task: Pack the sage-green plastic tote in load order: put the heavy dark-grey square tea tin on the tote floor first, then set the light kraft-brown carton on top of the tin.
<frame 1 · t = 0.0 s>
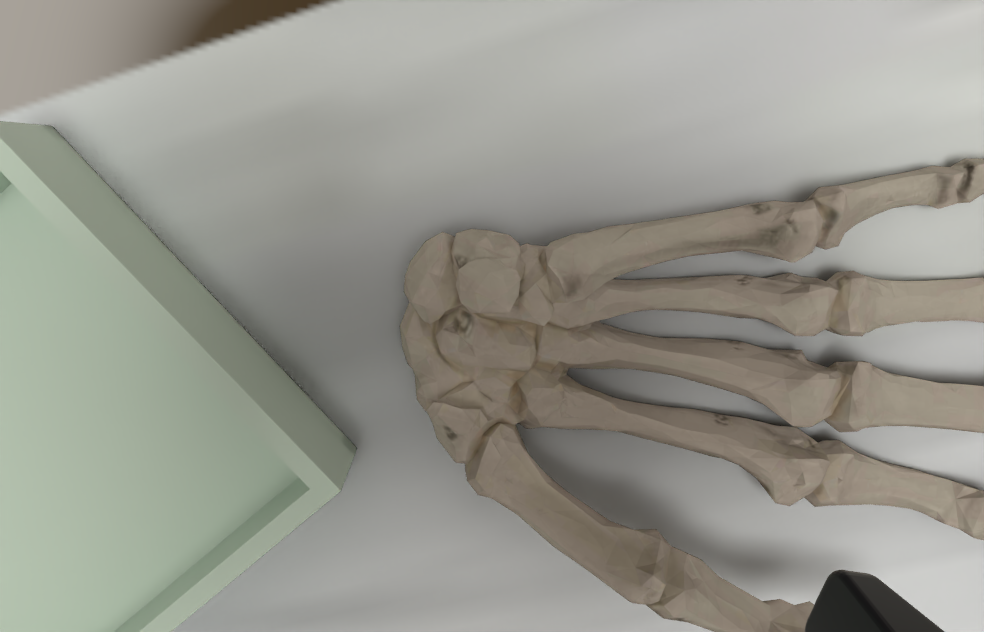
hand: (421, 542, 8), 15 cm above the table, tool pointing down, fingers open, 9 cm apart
skeleton model: (789, 375, 25), on the table
tote: (4, 478, 24), on the table
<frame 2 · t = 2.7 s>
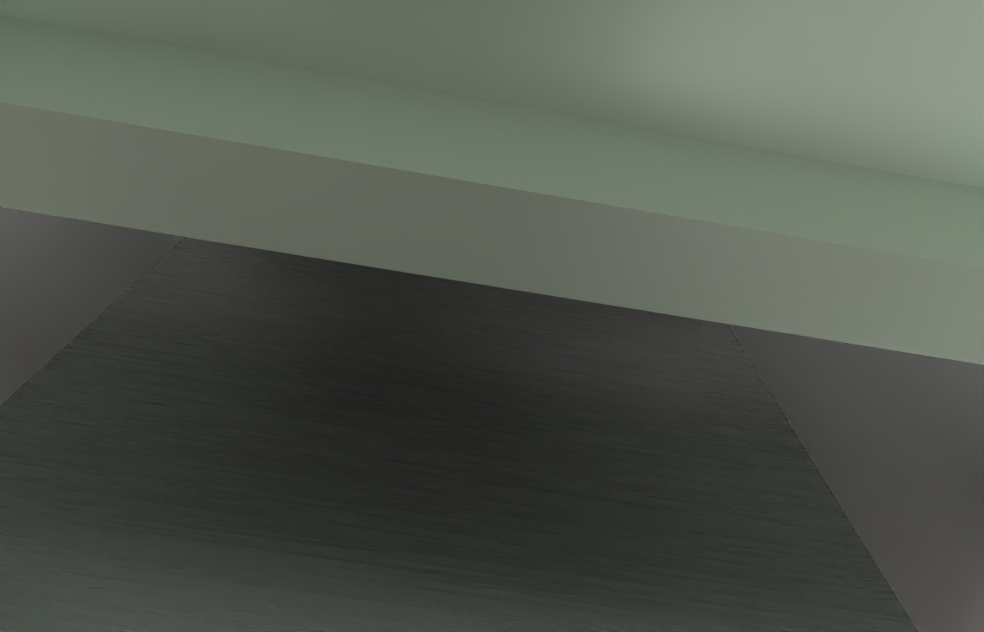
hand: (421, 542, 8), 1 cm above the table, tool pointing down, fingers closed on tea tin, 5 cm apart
tea tin: (429, 481, 9), on the table, touching gripper
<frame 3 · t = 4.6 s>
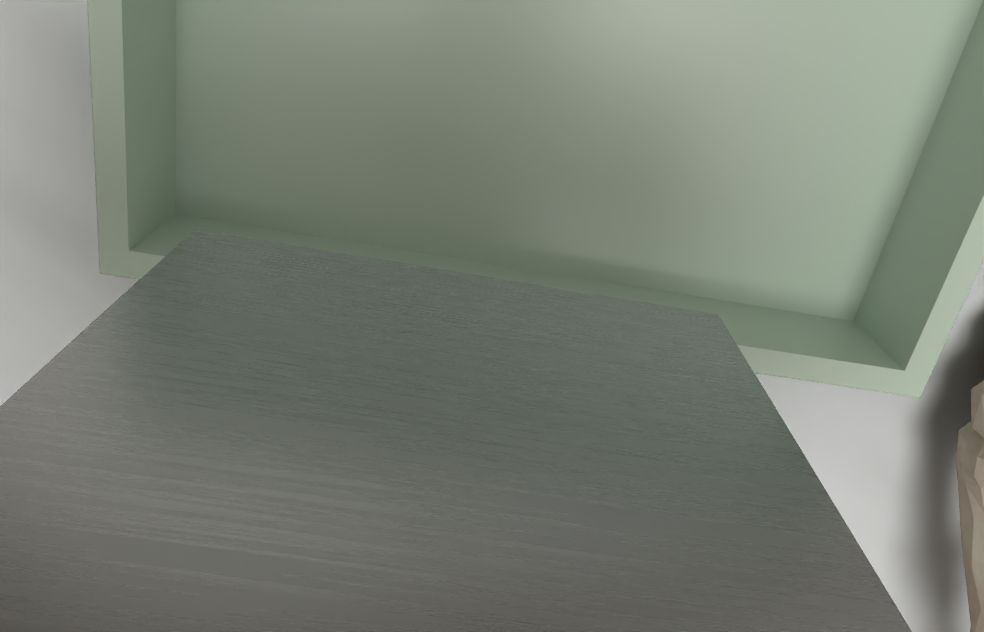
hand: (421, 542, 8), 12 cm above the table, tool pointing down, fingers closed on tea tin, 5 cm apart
tea tin: (427, 483, 9), point 11 cm above the table, touching gripper
tote: (574, 11, 17), on the table
when the fingers open (3 cm above the table, at t = 6.9 s): tea tin drops 1 cm, resting on tote.
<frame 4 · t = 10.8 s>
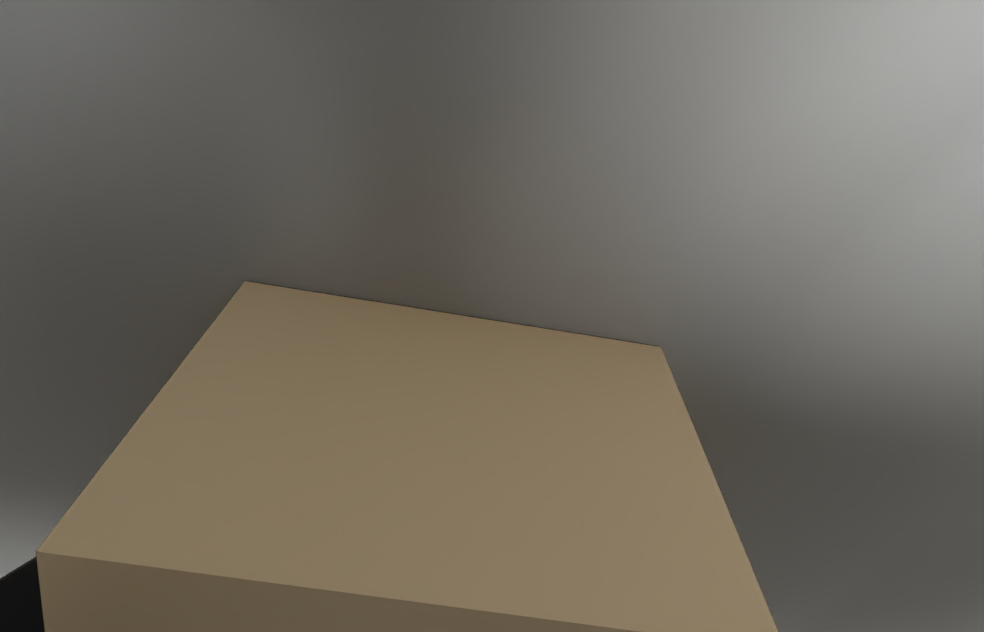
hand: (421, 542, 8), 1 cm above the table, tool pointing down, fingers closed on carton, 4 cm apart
carton: (428, 482, 9), on the table, touching gripper
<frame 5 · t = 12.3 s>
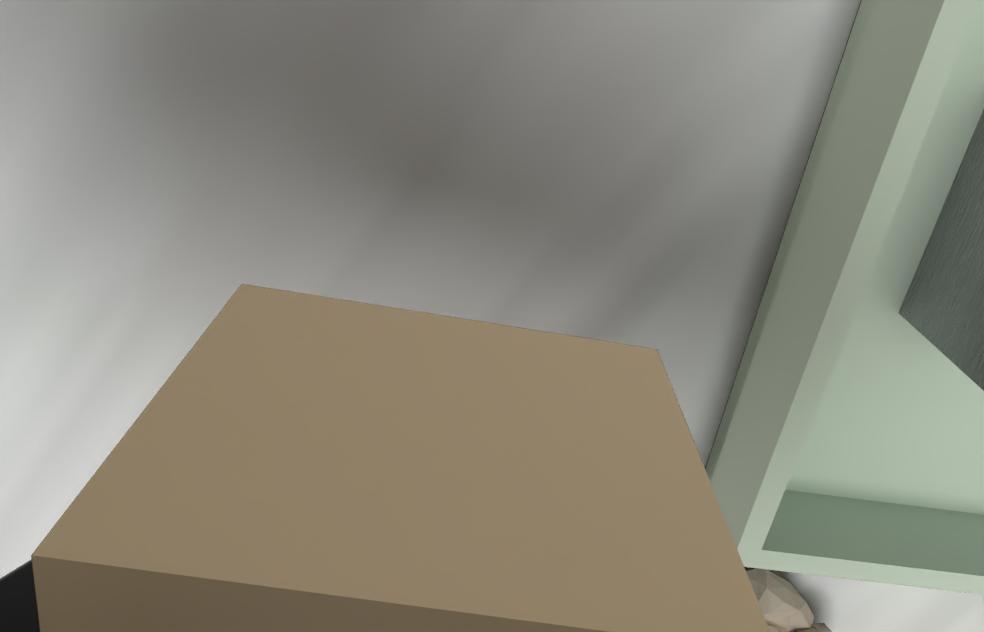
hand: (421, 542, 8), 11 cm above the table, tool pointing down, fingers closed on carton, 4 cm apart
carton: (425, 484, 9), point 10 cm above the table, touching gripper
when the fingers open (9 cm above the table, at t = 14.2 s): carton stays where it is, resting on tea tin.
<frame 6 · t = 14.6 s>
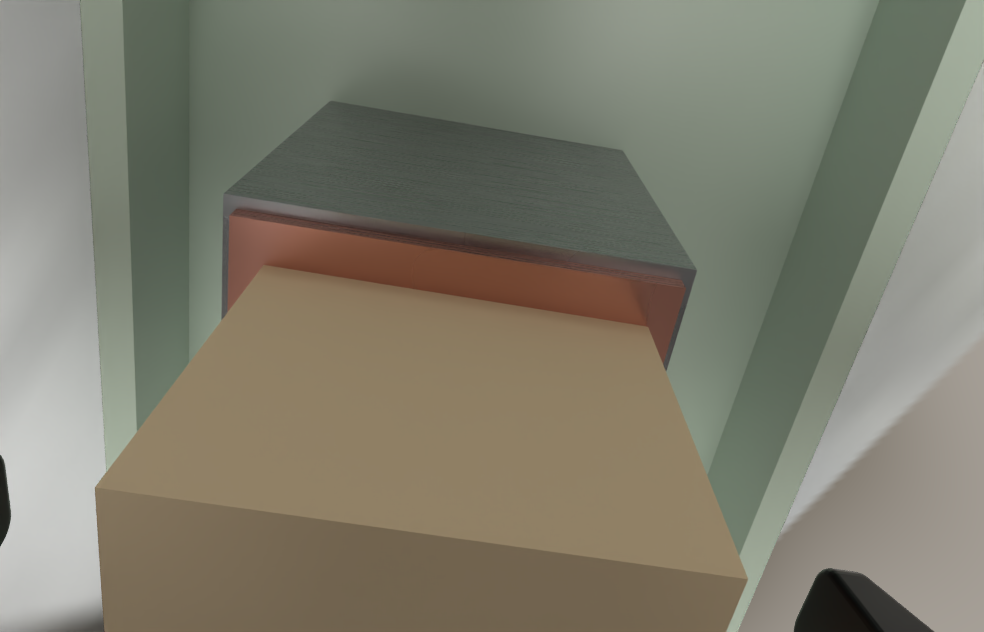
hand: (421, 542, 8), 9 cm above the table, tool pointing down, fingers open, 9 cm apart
tea tin: (456, 261, 15), point 1 cm above the table, touching carton, tote
carton: (432, 454, 10), point 7 cm above the table, touching tea tin
tote: (484, 259, 16), on the table
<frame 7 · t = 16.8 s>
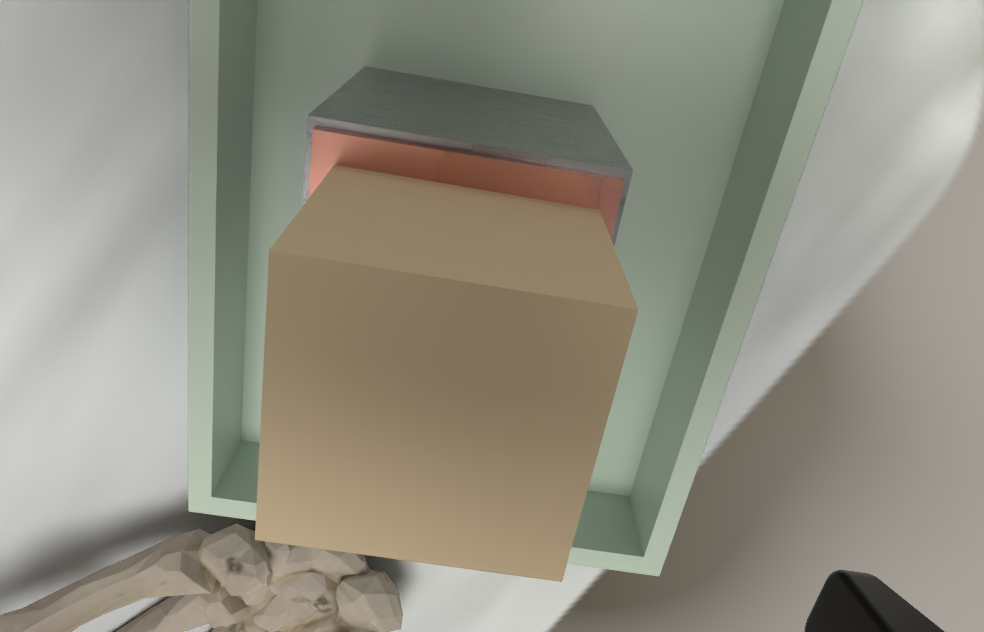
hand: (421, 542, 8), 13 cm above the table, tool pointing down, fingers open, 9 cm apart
tea tin: (463, 196, 19), point 1 cm above the table, touching carton, tote
carton: (448, 307, 14), point 7 cm above the table, touching tea tin
tote: (485, 196, 20), on the table
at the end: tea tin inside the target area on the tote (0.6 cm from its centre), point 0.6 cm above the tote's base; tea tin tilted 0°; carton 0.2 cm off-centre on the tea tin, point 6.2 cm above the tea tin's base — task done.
